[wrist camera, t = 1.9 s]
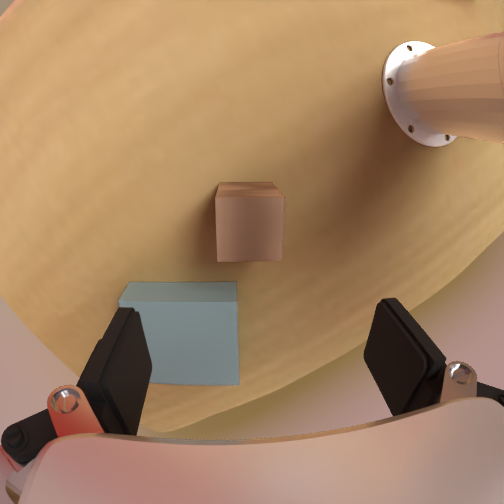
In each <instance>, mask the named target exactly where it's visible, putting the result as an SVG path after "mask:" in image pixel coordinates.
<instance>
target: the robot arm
mask: <svg viewBox="0 0 504 504" xmlns="http://www.w3.org/2000/svg"><path fill="white" fill-rule="evenodd" d="M407 45H408V46H409V47H410V48H411V52H410V51H408V50H407ZM388 78H389V79H391V80H392V85H389V84H388V83H387V79H388ZM382 85H383V92H384V96H385V100H386V103H387V106H388V108H389V111H390V113H391V115H392V117H393V118H394V120H395V122H396V123H397V124H398V126H399V127H400V128H401V129H402V131H403V132H404V133H405V134H406V135H408V136H409V137H410V138H411V139H413V140H414V141H416V142H418V143H420V144H422V145H425V146H430V147H441V146H445V145H448V144H449V143H451V142H452V141H454V140H455V139H456V138H457V137H458V136H459V137H467V138H473V139H479V140H485V141H491V142H496V143H502V144H504V32H500V33H494V34H489V35H484V36H479V37H474V38H470V39H466V40H461V41H457V42H453V43H450V44H446V45H442V46H439V47H433V46H431V45H429V44H427V43H423V42H420V41H409V42H405V43H402V44H400V45H398V46H397V47H395V48H394V49H393V50H392V51H391V52H390V53H389V55H388V57H387V59H386V61H385V64H384V67H383V74H382ZM409 125H411V126H412V129H413V130H412V132H411V133H410V132H409V131H408V127H409ZM445 135H448V140H447V141H446V139H445ZM364 360H365V362H366V364H367V366H368V368H369V370H370V372H371V374H372V376H373V378H374V380H375V381H376V383H377V385H378V387H379V389H380V391H381V393H382V395H383V397H384V399H385V401H386V403H387V405H388V407H389V409H390V411H391V413H392V415H393V417H390V418H386V419H382V420H378V421H374V422H370V423H365V424H361V425H356V426H351V427H346V428H341V429H335V430H329V431H323V432H317V433H310V434H302V435H294V436H284V437H275V438H260V439H242V440H241V439H240V440H191V439H189V440H188V439H170V438H155V437H144V436H136V435H137V430H138V426H139V422H140V417H141V413H142V409H143V405H144V401H145V397H146V393H147V389H148V385H149V381H150V377H151V373H152V361H151V357H150V354H149V350H148V346H147V342H146V338H145V334H144V330H143V326H142V322H141V317H140V313H139V312H138V311H135V309H134V308H133V307H119V308H118V310H117V312H116V313H115V315H114V317H113V319H112V321H111V323H110V324H109V326H108V328H107V330H106V332H105V334H104V336H103V338H102V339H100V340H99V341H98V343H97V344H96V346H95V348H94V350H93V352H92V354H91V356H90V358H89V360H88V362H87V364H86V366H85V368H84V370H83V372H82V374H81V376H80V379H79V381H78V383H77V385H76V386H73V385H64V386H60V387H58V388H56V389H55V390H54V391H53V392H51V394H50V395H49V397H48V400H47V407H48V409H45V410H43V411H41V412H39V413H37V414H35V415H32V416H30V417H28V418H26V419H24V420H21V421H19V422H17V423H15V424H12V425H10V426H9V427H7V429H6V430H5V431H4V432H3V435H2V438H1V443H2V445H0V504H504V390H501V389H498V388H495V387H492V386H489V385H486V384H483V383H480V382H477V375H476V372H475V370H474V369H473V368H472V367H471V366H469V365H468V364H466V363H464V362H459V361H456V362H451V363H449V364H448V365H446V364H445V361H446V357H445V356H444V355H443V354H442V352H441V351H440V350H439V348H438V347H437V346H436V345H435V343H434V342H433V341H432V340H431V339H430V337H429V336H428V335H427V334H426V333H425V331H424V330H423V329H422V328H421V326H420V325H419V324H418V323H417V322H416V321H415V319H413V317H412V316H411V315H410V314H409V312H408V311H407V310H406V309H405V308H404V307H403V305H402V304H401V303H400V302H399V301H398V300H397V299H396V298H386V299H382V300H381V302H380V303H378V304H377V307H376V311H375V315H374V318H373V322H372V326H371V330H370V333H369V337H368V340H367V344H366V347H365V350H364Z"/></svg>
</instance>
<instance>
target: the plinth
mask: <svg viewBox="0 0 504 504" xmlns="http://www.w3.org/2000/svg"><path fill="white" fill-rule="evenodd" d="M118 303H119V307H133V308H134V309H135V311H138V312H139V313H140V317H141V322H142V326H143V330H144V334H145V338H146V342H147V346H148V350H149V354H150V357H151V361H152V373H151V377H150V381H149V383H158V384H176V385H239V353H238V312H237V282H129V284H128V285H127V287H126V289H125V290H124V292H123V294H122V295H121V297H120V299H119V300H118Z"/></svg>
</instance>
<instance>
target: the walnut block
mask: <svg viewBox="0 0 504 504" xmlns="http://www.w3.org/2000/svg"><path fill="white" fill-rule="evenodd" d="M284 203H285V197H284V196H283V195H282V194H281V192H280V191H279V190H278V189H277V187H276V186H275V185H274V184H273V182H227V183H219V186H218V190H217V194H216V197H215V209H216V240H217V262H248V261H282V249H283V227H284Z"/></svg>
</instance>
